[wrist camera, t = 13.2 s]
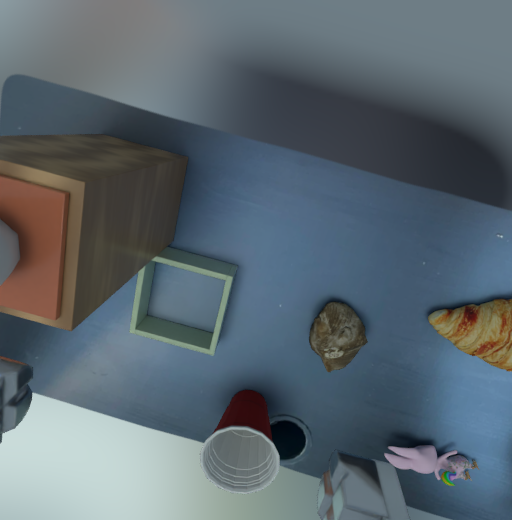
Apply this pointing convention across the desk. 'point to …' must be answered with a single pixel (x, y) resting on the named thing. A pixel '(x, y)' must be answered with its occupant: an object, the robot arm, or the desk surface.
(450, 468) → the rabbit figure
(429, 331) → the desk surface
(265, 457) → the plastic cup
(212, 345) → the holder
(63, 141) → the block
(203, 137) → the desk surface
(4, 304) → the coaster
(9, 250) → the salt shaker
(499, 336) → the croissant
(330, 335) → the fossilized seashell
